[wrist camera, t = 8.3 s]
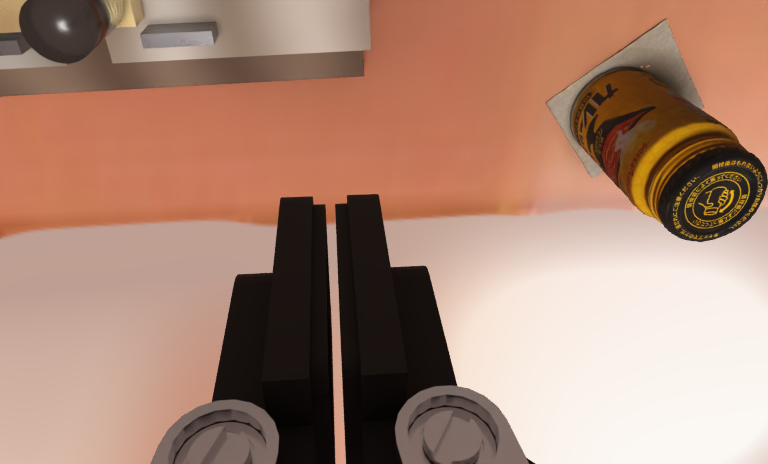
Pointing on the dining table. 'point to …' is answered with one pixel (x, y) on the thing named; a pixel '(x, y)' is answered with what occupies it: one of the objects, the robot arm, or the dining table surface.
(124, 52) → the grey brown double block
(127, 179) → the dining table surface
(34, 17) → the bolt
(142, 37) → the lock hardware
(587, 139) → the condiment
